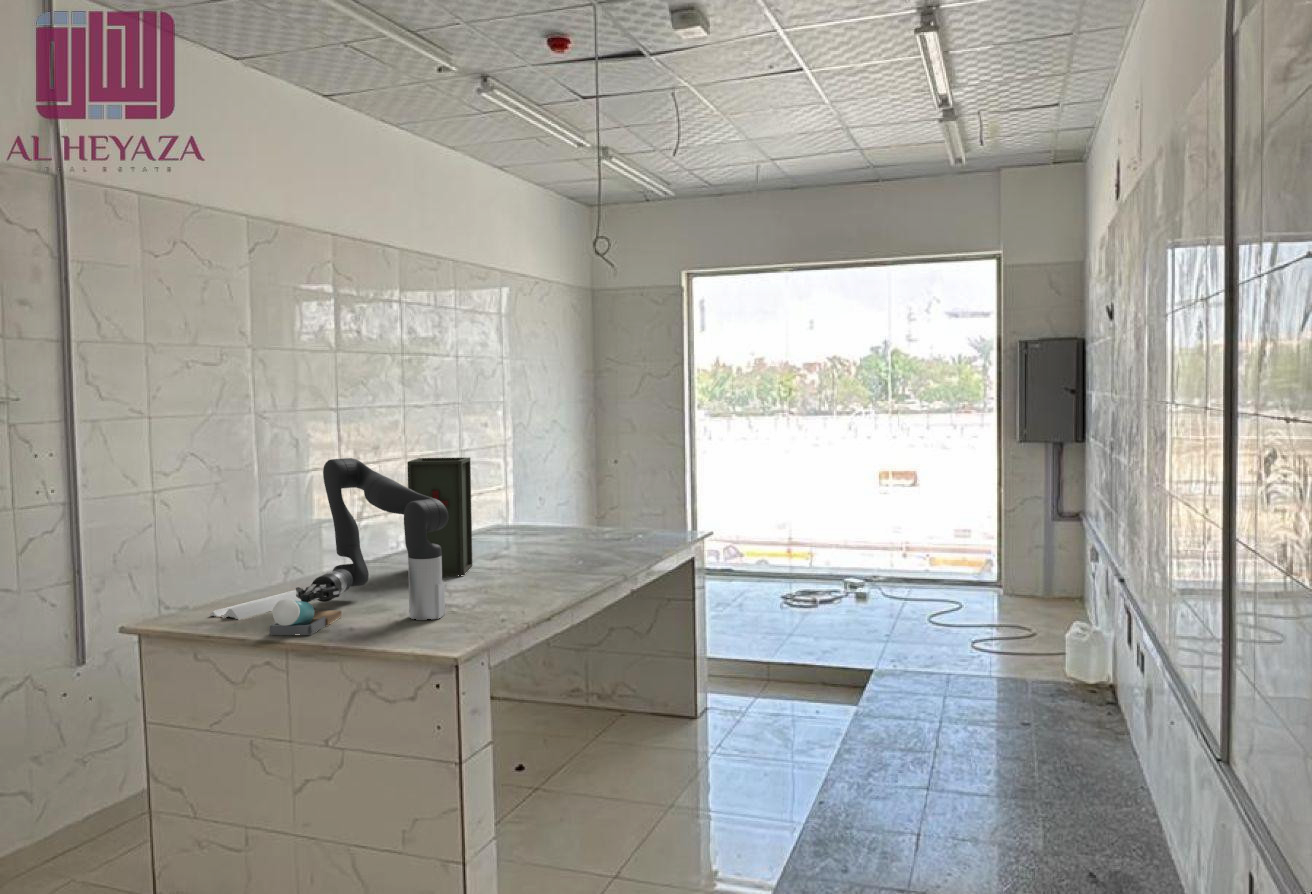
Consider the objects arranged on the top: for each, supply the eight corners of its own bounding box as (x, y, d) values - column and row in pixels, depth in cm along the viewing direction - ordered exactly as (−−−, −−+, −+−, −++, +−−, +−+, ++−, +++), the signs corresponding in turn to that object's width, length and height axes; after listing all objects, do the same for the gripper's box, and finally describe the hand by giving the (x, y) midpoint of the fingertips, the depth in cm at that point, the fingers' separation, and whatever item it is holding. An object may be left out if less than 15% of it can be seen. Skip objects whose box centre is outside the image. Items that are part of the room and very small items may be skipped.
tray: (325, 626, 258) (325, 616, 258) (311, 635, 248) (310, 625, 248) (286, 626, 259) (286, 616, 259) (269, 635, 249) (269, 625, 249)
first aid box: (472, 566, 346) (470, 457, 344) (463, 576, 328) (461, 461, 325) (421, 567, 346) (419, 457, 343) (410, 577, 327) (407, 461, 325)
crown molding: (293, 597, 299) (292, 585, 299) (322, 600, 294) (321, 588, 294) (210, 618, 271) (209, 606, 271) (240, 622, 266) (240, 609, 266)
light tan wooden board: (341, 617, 268) (341, 610, 268) (327, 626, 258) (327, 619, 258) (299, 617, 269) (299, 610, 269) (284, 626, 259) (284, 618, 259)
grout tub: (315, 600, 258) (299, 598, 247) (314, 626, 256) (297, 625, 246) (291, 601, 258) (273, 599, 247) (289, 626, 257) (271, 625, 246)
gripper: (306, 573, 275) (280, 585, 258) (351, 573, 275) (328, 585, 257) (307, 598, 276) (281, 612, 258) (352, 598, 275) (328, 612, 258)
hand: (304, 598), depth 258 cm, fingers closed
